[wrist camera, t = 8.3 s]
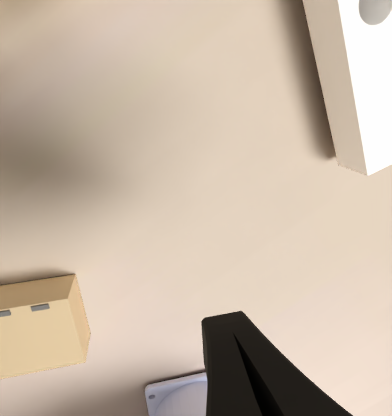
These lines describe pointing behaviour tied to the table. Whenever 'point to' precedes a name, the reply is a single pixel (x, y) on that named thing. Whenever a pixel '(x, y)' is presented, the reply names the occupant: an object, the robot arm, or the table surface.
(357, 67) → the bracket
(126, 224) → the table surface
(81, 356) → the cream usb hub
